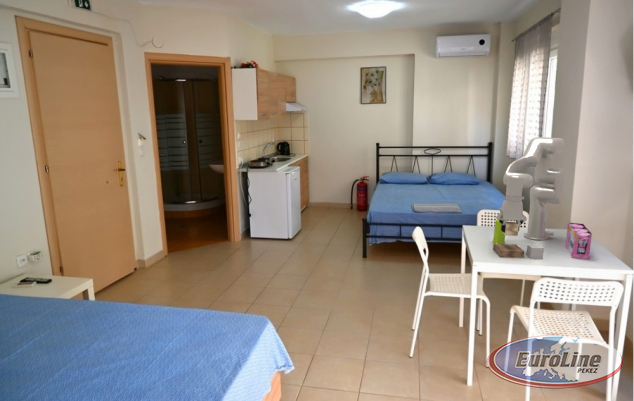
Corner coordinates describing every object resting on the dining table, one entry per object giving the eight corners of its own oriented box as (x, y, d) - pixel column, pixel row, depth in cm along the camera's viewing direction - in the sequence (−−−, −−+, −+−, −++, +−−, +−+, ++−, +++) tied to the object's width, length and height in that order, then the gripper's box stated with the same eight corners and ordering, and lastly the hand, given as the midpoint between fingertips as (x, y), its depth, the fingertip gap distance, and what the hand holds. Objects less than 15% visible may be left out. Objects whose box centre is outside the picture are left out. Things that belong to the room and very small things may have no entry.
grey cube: (537, 255, 231) (539, 244, 230) (542, 259, 225) (544, 248, 224) (526, 255, 232) (527, 244, 231) (530, 259, 226) (531, 247, 225)
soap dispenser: (507, 244, 250) (511, 210, 246) (495, 244, 250) (498, 210, 246) (504, 241, 255) (507, 207, 251) (491, 241, 256) (494, 207, 252)
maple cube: (513, 232, 234) (514, 221, 232) (517, 235, 228) (518, 224, 227) (501, 232, 234) (503, 221, 233) (505, 235, 228) (506, 224, 227)
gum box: (589, 260, 224) (593, 235, 221) (572, 258, 227) (575, 233, 224) (580, 247, 246) (583, 223, 243) (564, 245, 248) (567, 222, 246)
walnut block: (515, 251, 239) (516, 244, 238) (523, 258, 227) (524, 251, 226) (492, 250, 240) (493, 243, 239) (499, 258, 228) (500, 250, 227)
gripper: (527, 197, 230) (524, 230, 234) (494, 196, 232) (490, 229, 235) (533, 200, 223) (529, 234, 226) (498, 199, 224) (495, 233, 228)
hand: (509, 231), depth 231 cm, fingers closed on maple cube, 6 cm apart
